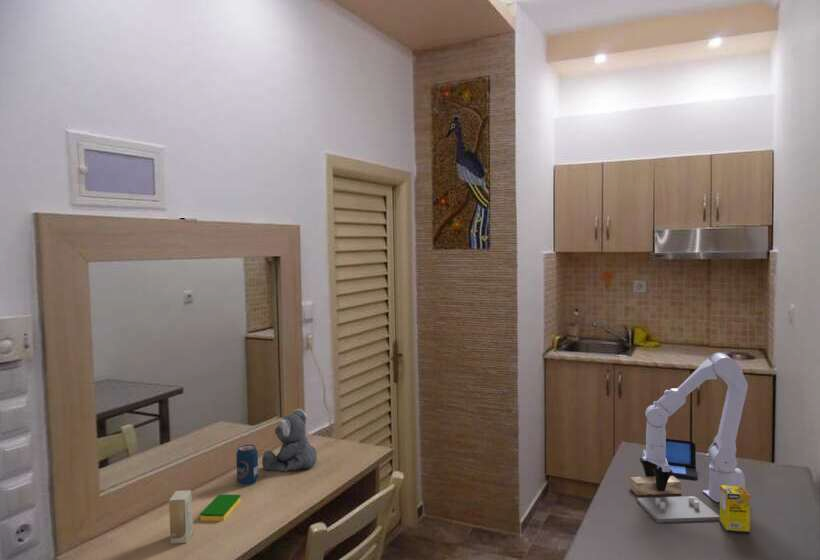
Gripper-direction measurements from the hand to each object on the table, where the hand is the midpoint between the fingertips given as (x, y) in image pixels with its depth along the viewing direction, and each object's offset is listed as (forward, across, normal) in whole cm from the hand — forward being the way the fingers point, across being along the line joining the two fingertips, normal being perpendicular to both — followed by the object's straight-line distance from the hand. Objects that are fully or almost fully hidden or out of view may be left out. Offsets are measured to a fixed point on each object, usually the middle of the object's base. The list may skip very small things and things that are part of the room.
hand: (655, 485), depth 188 cm
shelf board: (+2, 0, 0) cm, 2 cm away
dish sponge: (+2, +4, -135) cm, 135 cm away
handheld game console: (+2, -17, +13) cm, 21 cm away
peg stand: (+2, +14, 0) cm, 14 cm away
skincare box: (+2, +21, -141) cm, 143 cm away
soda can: (+2, -17, -132) cm, 133 cm away
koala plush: (+2, -32, -119) cm, 123 cm away
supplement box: (+2, +26, +10) cm, 28 cm away
